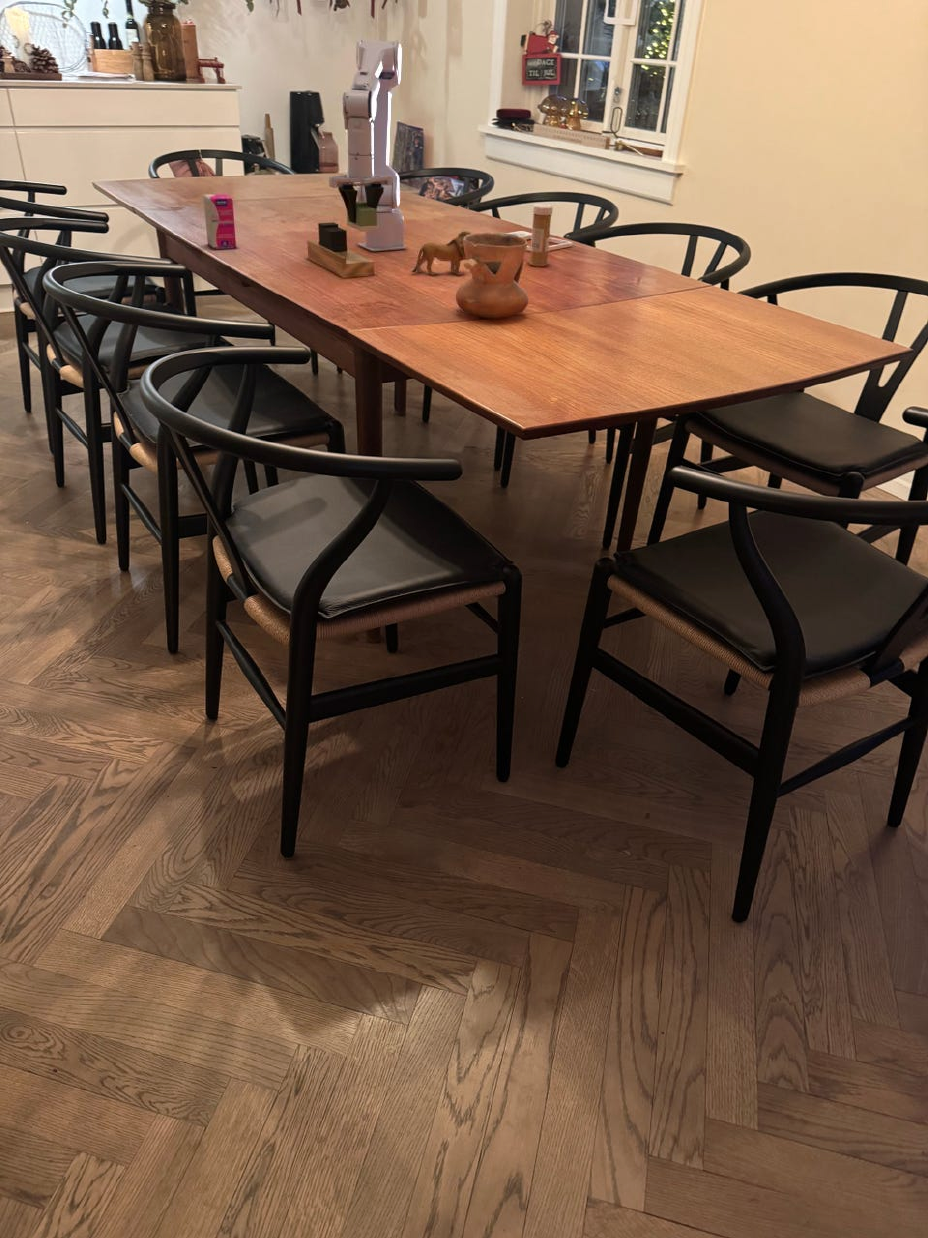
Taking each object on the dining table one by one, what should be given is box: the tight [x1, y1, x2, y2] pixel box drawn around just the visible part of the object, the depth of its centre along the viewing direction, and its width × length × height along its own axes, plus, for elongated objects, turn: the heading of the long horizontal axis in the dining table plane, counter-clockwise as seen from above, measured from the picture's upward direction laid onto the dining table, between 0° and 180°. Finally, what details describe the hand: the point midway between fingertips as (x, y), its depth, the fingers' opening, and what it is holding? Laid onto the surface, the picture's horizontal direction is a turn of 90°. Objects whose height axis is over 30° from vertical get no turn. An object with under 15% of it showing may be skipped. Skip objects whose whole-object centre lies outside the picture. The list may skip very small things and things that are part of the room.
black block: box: [317, 221, 348, 252], centre depth 206 cm, size 4×8×5 cm, turn 32°
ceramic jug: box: [455, 232, 529, 319], centre depth 174 cm, size 18×14×14 cm
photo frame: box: [505, 230, 574, 252], centre depth 235 cm, size 15×1×18 cm
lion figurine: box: [411, 230, 472, 276], centre depth 201 cm, size 15×5×9 cm, turn 110°
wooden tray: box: [306, 239, 375, 279], centre depth 204 cm, size 8×20×4 cm, turn 32°
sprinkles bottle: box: [529, 203, 554, 267], centre depth 212 cm, size 5×5×14 cm
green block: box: [346, 200, 377, 232], centre depth 199 cm, size 4×8×5 cm, turn 32°
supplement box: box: [202, 193, 237, 250], centre depth 214 cm, size 6×6×12 cm
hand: (361, 221), depth 200 cm, fingers closed on green block, 4 cm apart
